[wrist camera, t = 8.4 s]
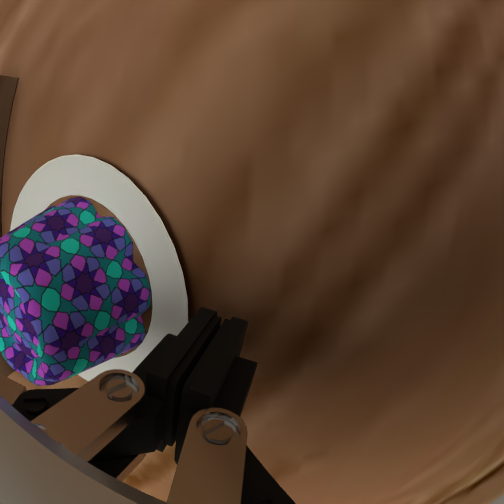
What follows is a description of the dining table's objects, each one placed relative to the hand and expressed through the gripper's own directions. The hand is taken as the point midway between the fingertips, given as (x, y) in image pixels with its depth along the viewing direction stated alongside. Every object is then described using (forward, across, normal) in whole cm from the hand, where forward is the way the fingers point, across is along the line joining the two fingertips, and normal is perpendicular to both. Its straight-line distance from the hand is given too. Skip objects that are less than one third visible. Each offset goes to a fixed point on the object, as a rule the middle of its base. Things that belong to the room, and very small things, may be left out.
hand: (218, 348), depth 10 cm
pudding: (+2, +8, 0) cm, 8 cm away
